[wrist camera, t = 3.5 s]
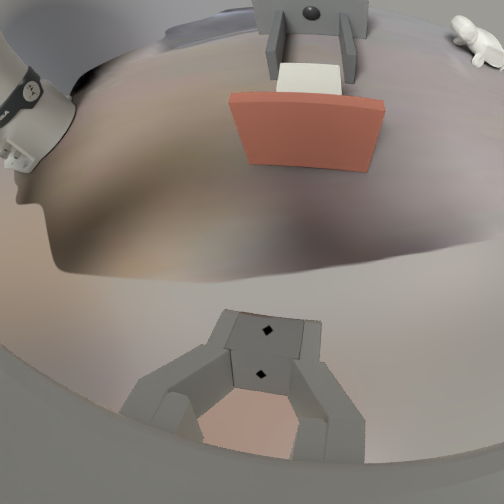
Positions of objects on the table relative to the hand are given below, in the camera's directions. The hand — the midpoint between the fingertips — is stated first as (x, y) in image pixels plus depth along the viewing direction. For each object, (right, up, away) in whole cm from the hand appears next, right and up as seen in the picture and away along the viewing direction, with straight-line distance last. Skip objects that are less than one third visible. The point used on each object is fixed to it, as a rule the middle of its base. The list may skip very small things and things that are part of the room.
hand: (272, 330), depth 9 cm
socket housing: (+8, +33, +26) cm, 42 cm away
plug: (+6, +16, +21) cm, 27 cm away
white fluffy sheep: (+42, +40, +22) cm, 62 cm away
